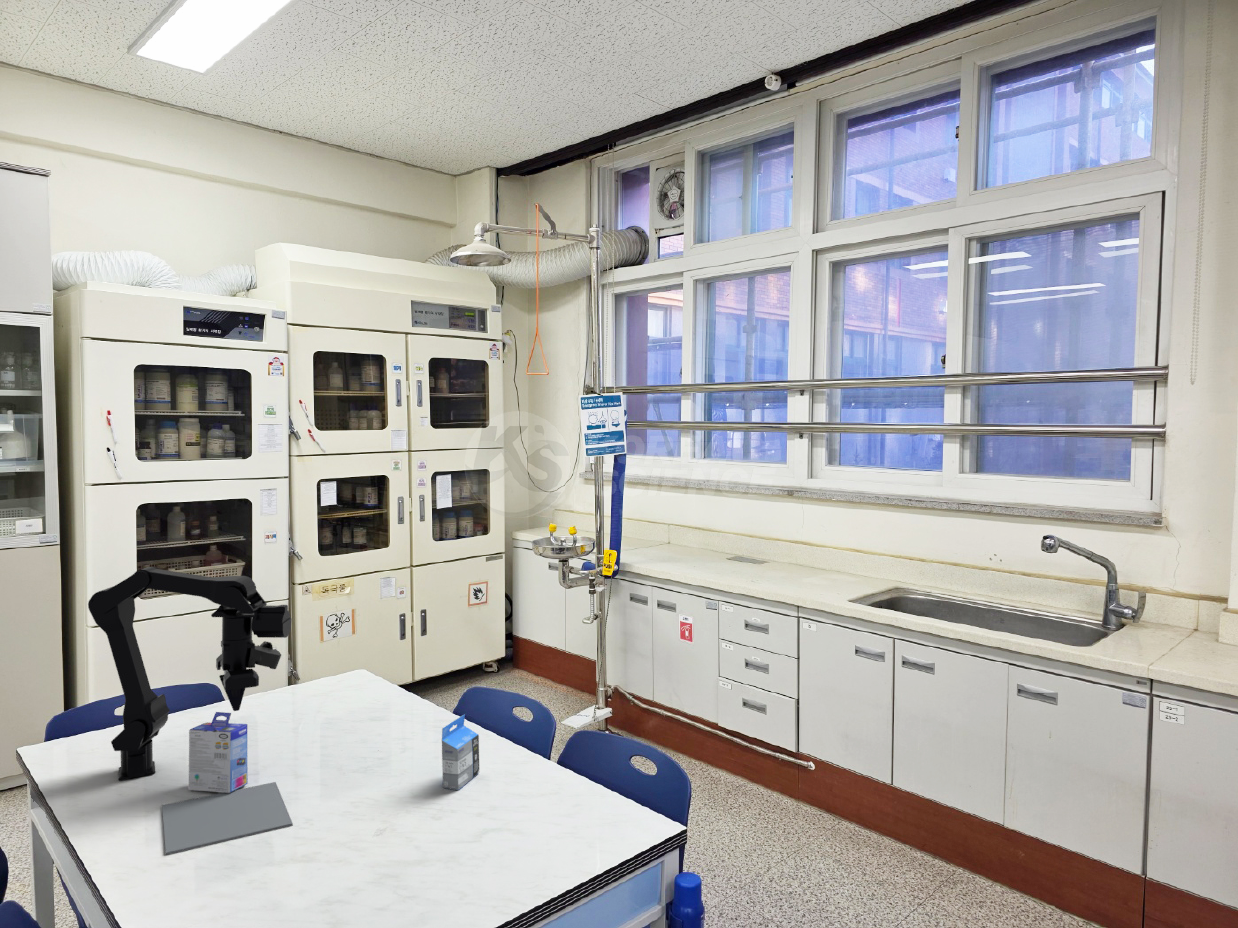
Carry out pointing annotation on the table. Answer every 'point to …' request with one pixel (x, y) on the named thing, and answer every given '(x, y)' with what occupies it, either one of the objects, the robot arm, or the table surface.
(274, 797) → the charcoal mat
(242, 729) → the ink cartridge box
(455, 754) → the label tape box
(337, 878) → the table surface
